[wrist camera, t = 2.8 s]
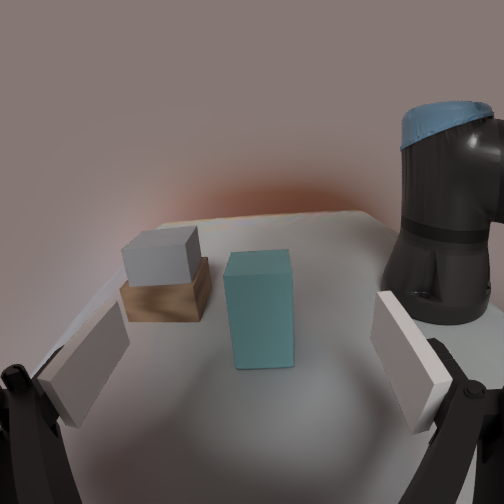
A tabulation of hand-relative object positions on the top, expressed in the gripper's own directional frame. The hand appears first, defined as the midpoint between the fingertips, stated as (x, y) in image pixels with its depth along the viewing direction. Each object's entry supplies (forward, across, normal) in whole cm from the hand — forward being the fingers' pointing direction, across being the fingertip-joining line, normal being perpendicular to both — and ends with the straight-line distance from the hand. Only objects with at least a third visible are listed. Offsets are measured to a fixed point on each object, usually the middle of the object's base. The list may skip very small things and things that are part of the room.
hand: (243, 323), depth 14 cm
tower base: (+20, -12, -10) cm, 26 cm away
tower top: (+20, -11, -6) cm, 24 cm away
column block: (+10, 0, -10) cm, 14 cm away
